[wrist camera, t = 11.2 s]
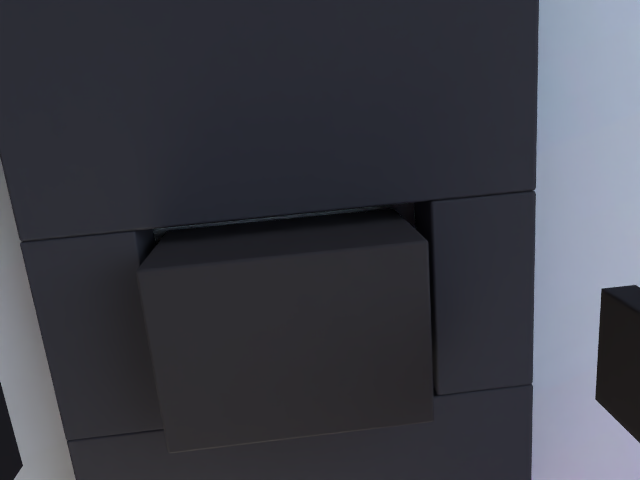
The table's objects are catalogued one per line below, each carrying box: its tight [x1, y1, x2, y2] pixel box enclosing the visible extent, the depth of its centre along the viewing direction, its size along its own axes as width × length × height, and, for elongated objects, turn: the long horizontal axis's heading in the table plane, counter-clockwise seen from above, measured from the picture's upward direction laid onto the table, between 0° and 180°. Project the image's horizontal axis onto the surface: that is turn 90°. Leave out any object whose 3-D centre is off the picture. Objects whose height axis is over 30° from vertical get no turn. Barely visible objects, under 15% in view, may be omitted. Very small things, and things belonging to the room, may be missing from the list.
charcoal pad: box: [0, 0, 539, 480], centre depth 17 cm, size 18×14×2 cm
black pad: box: [136, 209, 434, 453], centre depth 16 cm, size 5×7×4 cm
